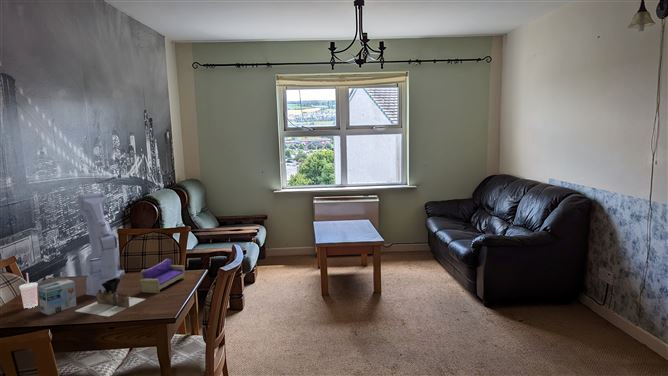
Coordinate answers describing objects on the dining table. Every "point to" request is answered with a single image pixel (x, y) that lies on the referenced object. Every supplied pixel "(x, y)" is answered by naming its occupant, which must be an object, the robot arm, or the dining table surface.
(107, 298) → the fence flap
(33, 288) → the beverage cup
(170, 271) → the toy sofa
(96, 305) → the card
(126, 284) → the dining table surface
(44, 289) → the light bulb box
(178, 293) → the dining table surface
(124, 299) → the fixed fence rail
